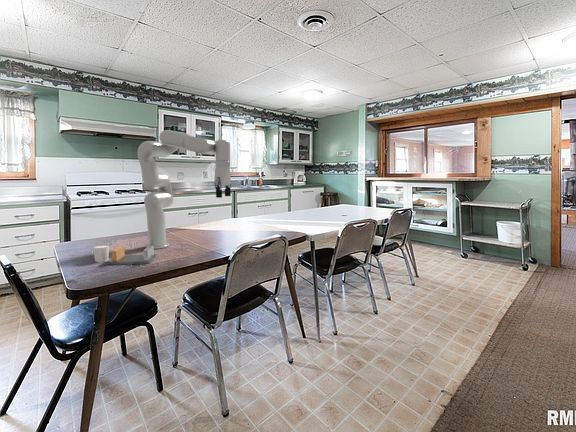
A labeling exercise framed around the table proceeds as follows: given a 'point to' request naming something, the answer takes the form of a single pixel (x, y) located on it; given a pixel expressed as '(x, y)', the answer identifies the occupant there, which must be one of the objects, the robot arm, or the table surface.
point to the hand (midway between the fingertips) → (223, 196)
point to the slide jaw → (118, 253)
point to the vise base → (137, 258)
